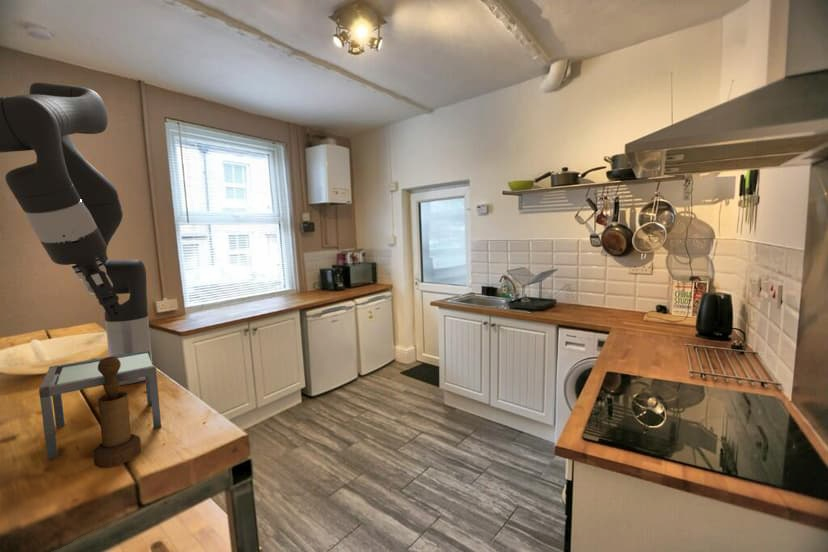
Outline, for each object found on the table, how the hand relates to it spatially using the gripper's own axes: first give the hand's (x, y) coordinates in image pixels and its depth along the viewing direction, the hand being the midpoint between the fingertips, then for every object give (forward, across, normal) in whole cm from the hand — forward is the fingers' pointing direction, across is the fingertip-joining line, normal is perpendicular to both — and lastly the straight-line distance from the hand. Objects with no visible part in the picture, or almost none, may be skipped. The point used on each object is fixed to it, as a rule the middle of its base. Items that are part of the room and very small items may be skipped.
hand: (111, 307), depth 69 cm
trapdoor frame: (+24, +3, -9) cm, 26 cm away
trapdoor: (+14, -1, -5) cm, 15 cm away
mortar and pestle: (+19, +17, -10) cm, 27 cm away
